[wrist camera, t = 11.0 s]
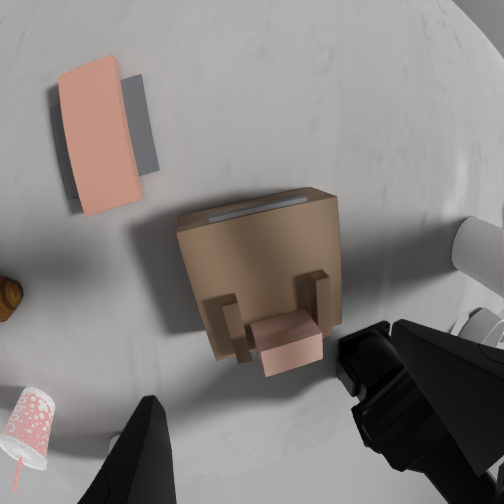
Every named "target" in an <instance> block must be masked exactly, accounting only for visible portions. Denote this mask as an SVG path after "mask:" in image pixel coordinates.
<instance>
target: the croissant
mask: <svg viewBox="0 0 504 504" xmlns="http://www.w3.org/2000/svg"><path fill="white" fill-rule="evenodd" d="M23 296H24V295H23V290H22V287H21V286H20V284H19V283H18V282H16V281H14V280H11V279H9V278H5V277H2V276H0V322H4V321H6V320H7V319H8V318H9V317H10V316H11V314H12V313H13V312H14V311H15V309H16V308H17V306H18V305H19V303H20V302H21V300H22V298H23Z"/></svg>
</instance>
